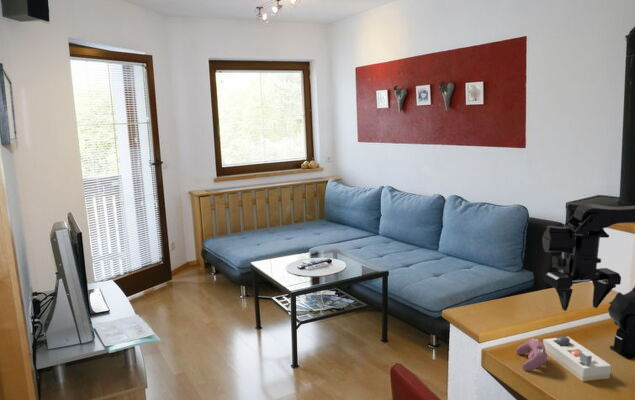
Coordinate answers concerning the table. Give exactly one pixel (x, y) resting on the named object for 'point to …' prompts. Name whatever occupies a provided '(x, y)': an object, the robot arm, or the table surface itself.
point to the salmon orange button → (576, 353)
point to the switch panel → (577, 360)
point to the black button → (563, 341)
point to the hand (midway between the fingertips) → (579, 308)
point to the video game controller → (533, 354)
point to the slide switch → (585, 358)
